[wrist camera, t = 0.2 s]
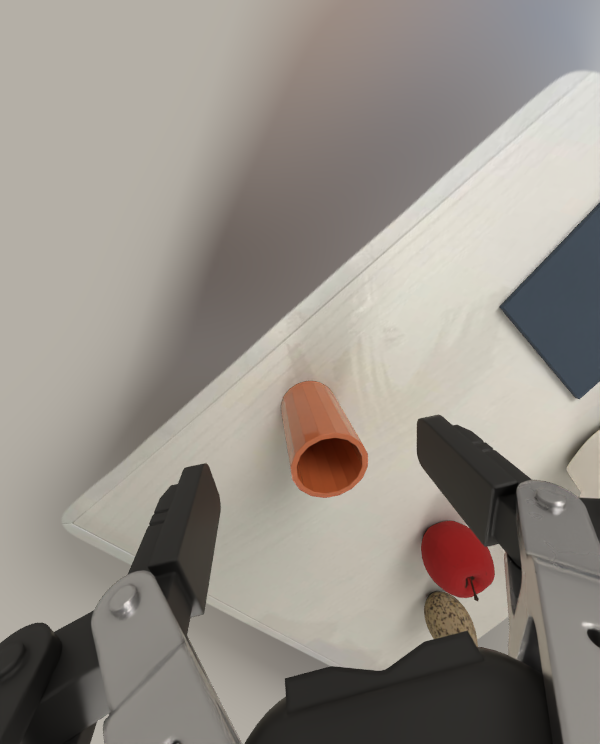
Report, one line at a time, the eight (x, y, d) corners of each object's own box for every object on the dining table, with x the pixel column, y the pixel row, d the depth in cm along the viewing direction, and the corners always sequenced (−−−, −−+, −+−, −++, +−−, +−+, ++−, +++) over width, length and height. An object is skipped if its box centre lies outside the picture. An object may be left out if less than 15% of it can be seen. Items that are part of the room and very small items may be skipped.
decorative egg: (434, 610, 53) (471, 683, 44) (407, 602, 51) (440, 677, 42) (459, 586, 51) (504, 657, 42) (433, 577, 49) (473, 648, 40)
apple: (435, 558, 48) (478, 629, 38) (399, 540, 45) (437, 612, 35) (475, 522, 46) (530, 587, 36) (440, 501, 43) (491, 566, 34)
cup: (269, 411, 33) (275, 476, 23) (305, 370, 32) (327, 419, 22) (311, 438, 35) (333, 508, 25) (346, 400, 34) (383, 457, 24)
